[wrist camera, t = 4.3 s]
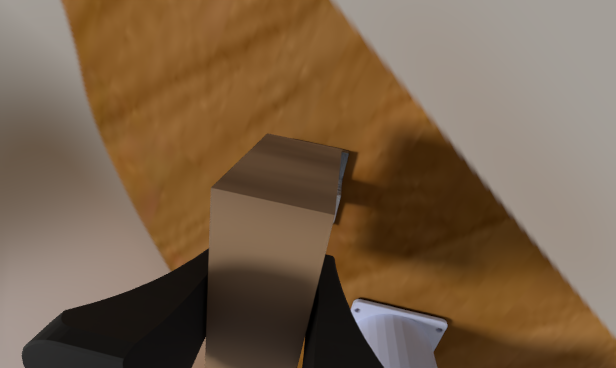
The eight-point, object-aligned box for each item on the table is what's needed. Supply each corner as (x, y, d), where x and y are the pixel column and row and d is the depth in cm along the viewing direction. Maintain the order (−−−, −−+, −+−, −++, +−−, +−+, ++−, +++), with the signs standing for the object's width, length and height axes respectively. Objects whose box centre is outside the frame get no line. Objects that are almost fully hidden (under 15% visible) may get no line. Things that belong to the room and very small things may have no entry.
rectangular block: (305, 305, 18) (284, 417, 12) (249, 292, 18) (204, 397, 12) (341, 149, 13) (334, 215, 8) (267, 133, 14) (210, 187, 8)
